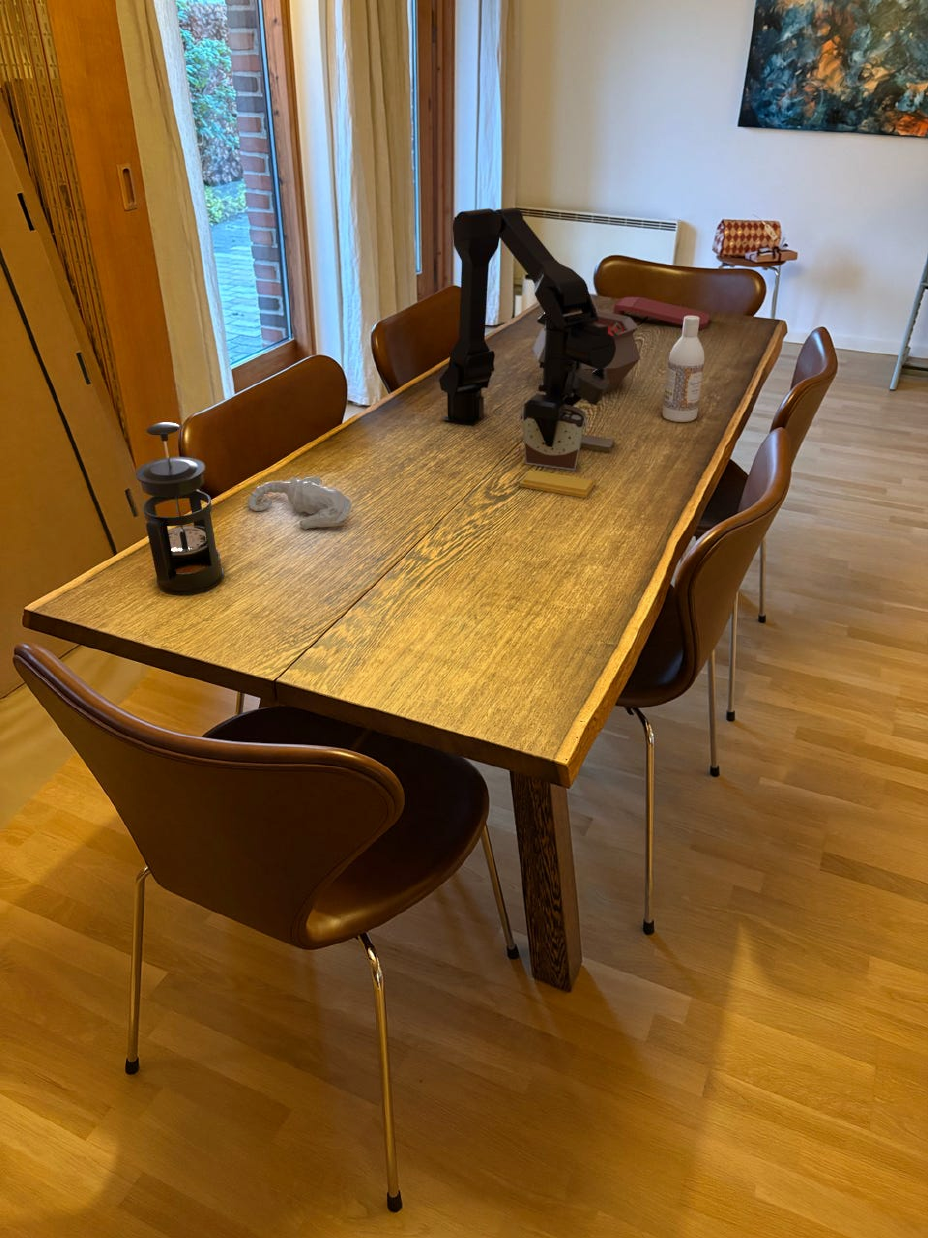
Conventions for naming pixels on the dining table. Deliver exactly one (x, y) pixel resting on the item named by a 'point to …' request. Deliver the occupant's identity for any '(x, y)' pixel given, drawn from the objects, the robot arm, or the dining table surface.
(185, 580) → the french press
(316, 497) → the seahorse
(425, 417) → the dining table surface
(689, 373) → the bath foam
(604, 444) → the silver flat block
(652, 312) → the dark red bevelled block
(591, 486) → the yellow brown rectangular slab
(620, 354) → the brown faceted pot
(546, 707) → the dining table surface
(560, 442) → the food container
